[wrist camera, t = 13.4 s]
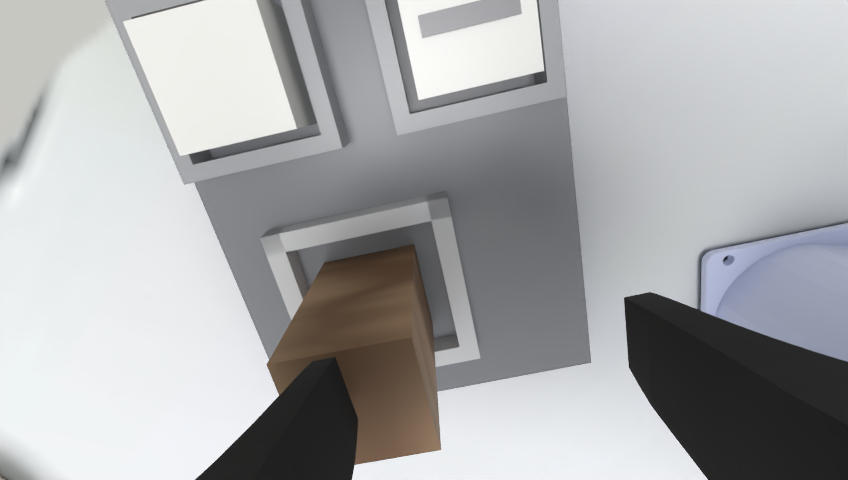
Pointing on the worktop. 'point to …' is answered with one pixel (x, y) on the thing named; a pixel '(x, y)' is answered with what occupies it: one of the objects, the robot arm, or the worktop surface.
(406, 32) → the button
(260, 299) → the breaker panel
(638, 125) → the worktop surface
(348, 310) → the block
